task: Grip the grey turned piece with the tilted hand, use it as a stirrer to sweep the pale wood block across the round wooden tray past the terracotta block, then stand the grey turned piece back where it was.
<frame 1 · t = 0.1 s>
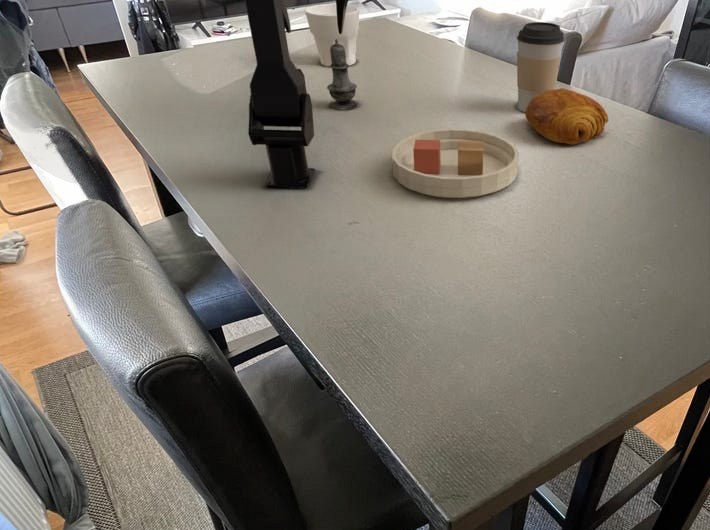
hand: (315, 33, 104), 15 cm above the table, tool pointing down, fingers open, 9 cm apart
coffee cup: (534, 108, 120), on the table
croissant: (564, 132, 110), on the table
block a: (470, 170, 95), point 1 cm above the table, touching round wooden tray
block b: (427, 169, 95), point 1 cm above the table, touching round wooden tray
round wooden tray: (455, 173, 96), on the table
grey turned piece: (344, 106, 120), on the table
cup: (338, 63, 142), on the table
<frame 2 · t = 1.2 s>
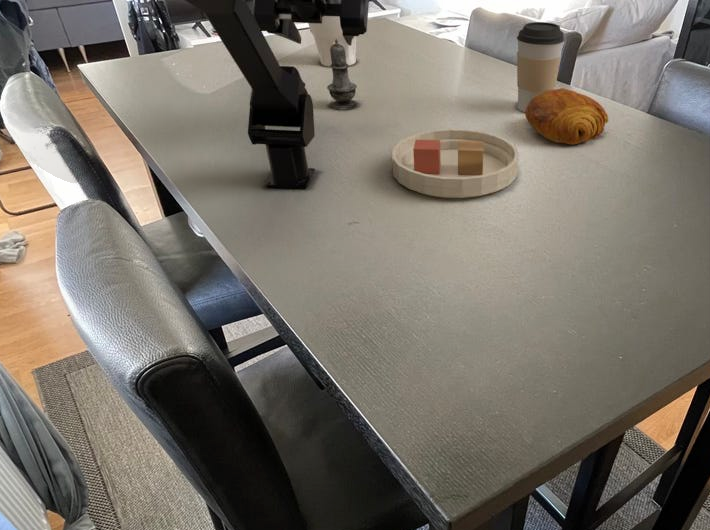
hand: (325, 42, 105), 13 cm above the table, tool tilted 45°, fingers open, 9 cm apart
nothing on the table moved.
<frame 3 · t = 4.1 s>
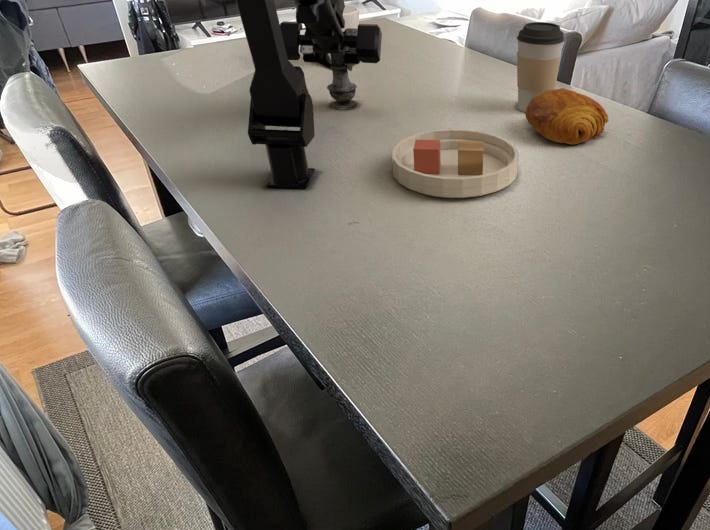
hand: (341, 68, 116), 7 cm above the table, tool tilted 45°, fingers closed on grey turned piece, 3 cm apart
grey turned piece: (344, 106, 120), on the table, touching gripper
everything else where it was.
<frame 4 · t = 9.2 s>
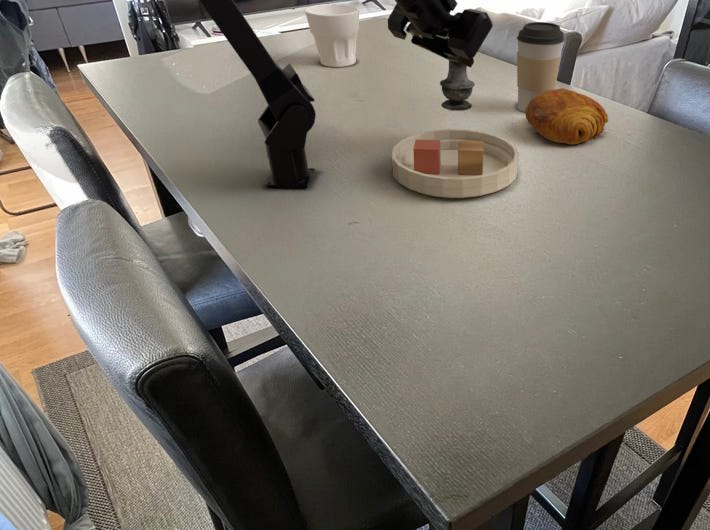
hand: (463, 62, 96), 13 cm above the table, tool tilted 45°, fingers closed on grey turned piece, 3 cm apart
grey turned piece: (456, 107, 100), point 6 cm above the table, touching gripper
everything else where it was.
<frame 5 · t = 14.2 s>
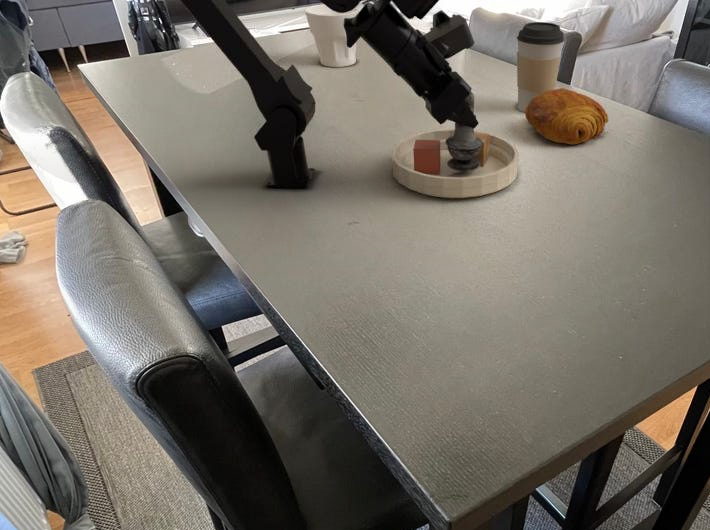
hand: (472, 121, 90), 8 cm above the table, tool tilted 45°, fingers closed on grey turned piece, 3 cm apart
block a: (474, 160, 98), point 1 cm above the table, touching round wooden tray, grey turned piece
grey turned piece: (463, 165, 94), point 2 cm above the table, touching block a, gripper
everything else where it was.
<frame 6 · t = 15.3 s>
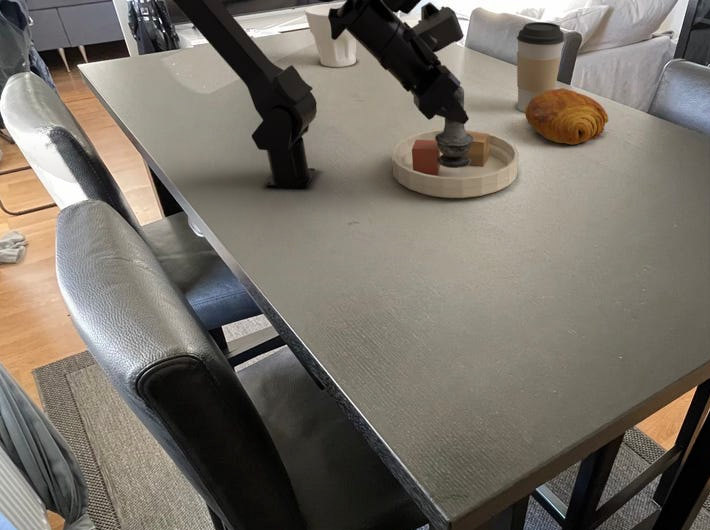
hand: (462, 117, 88), 10 cm above the table, tool tilted 45°, fingers closed on grey turned piece, 3 cm apart
block a: (474, 160, 98), point 1 cm above the table, touching round wooden tray
grey turned piece: (454, 162, 92), point 3 cm above the table, touching gripper
everything else where it was.
when the fingers open (7 cm above the table, at t = 23.8 s): grey turned piece stays where it is, on the table.
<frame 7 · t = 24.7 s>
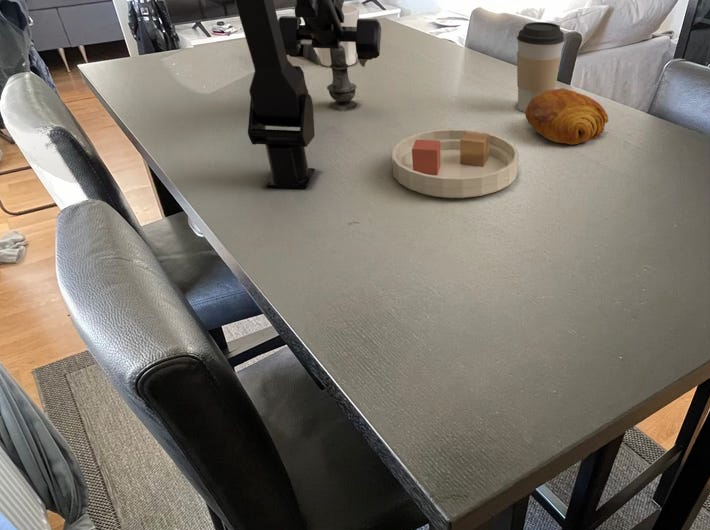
hand: (340, 63, 115), 7 cm above the table, tool tilted 45°, fingers open, 9 cm apart
grey turned piece: (344, 106, 119), on the table
everything else where it was.
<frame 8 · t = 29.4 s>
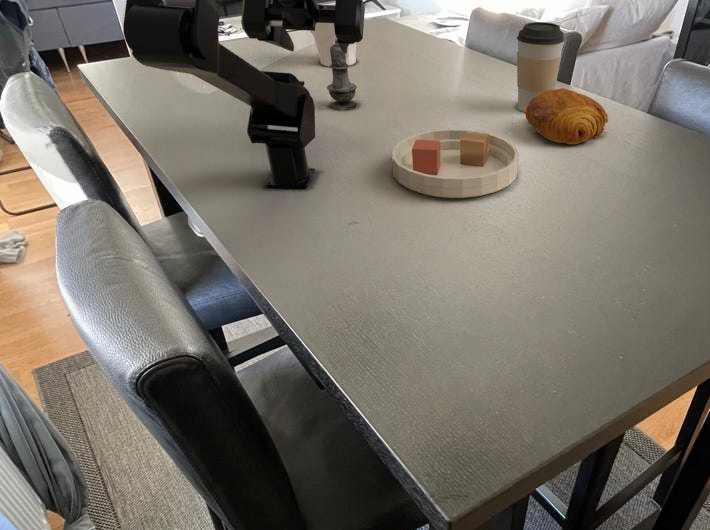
hand: (319, 49, 100), 14 cm above the table, tool tilted 45°, fingers open, 9 cm apart
nothing on the table moved.
at the end: block a moved 3.8 cm from its start; block a inside the target area in the round wooden tray (4.9 cm from its centre), point 0.6 cm above the round wooden tray's base; block b inside the target area in the round wooden tray (4.6 cm from its centre), point 0.6 cm above the round wooden tray's base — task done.
